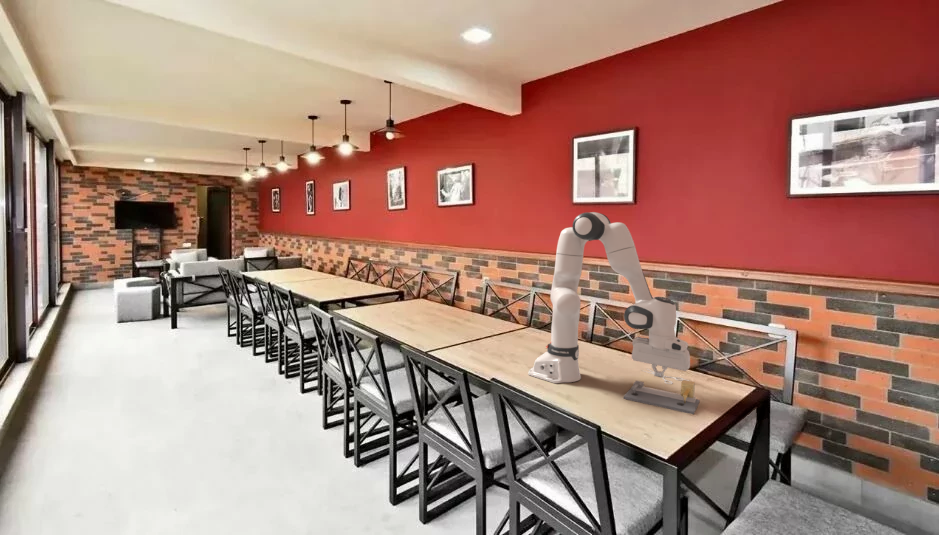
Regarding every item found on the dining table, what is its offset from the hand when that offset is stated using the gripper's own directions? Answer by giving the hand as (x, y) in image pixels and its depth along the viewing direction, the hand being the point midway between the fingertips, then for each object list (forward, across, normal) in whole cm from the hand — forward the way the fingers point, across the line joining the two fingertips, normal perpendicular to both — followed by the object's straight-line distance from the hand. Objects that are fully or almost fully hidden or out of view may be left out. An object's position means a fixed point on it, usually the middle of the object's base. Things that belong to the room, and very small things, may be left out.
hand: (658, 376), depth 169 cm
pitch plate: (+8, +2, -2) cm, 9 cm away
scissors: (+9, -5, +25) cm, 26 cm away
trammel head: (+6, +10, -1) cm, 12 cm away
